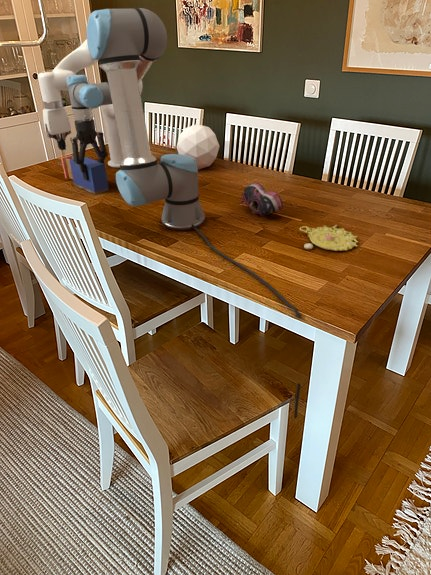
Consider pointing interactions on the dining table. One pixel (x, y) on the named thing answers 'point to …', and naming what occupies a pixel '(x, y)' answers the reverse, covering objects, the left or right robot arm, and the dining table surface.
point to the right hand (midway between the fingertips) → (94, 177)
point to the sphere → (198, 145)
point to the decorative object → (330, 238)
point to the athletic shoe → (261, 200)
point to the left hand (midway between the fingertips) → (62, 149)
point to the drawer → (66, 166)
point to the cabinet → (90, 176)
